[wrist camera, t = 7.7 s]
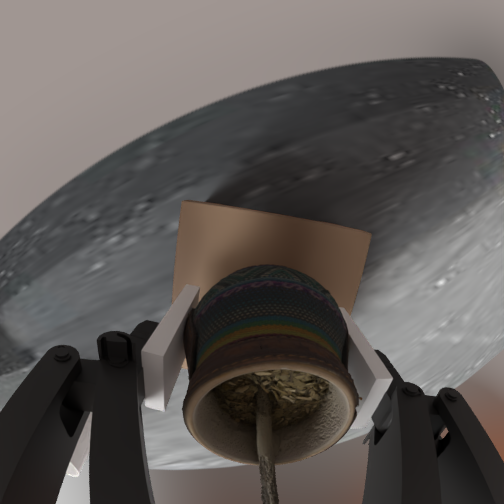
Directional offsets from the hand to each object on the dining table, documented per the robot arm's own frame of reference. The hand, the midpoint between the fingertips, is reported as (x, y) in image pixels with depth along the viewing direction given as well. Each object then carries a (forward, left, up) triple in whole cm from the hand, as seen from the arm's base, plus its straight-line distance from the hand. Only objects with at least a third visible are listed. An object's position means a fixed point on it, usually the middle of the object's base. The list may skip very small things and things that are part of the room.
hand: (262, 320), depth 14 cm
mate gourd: (0, 0, 0) cm, 1 cm away
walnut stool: (0, 0, -7) cm, 7 cm away
